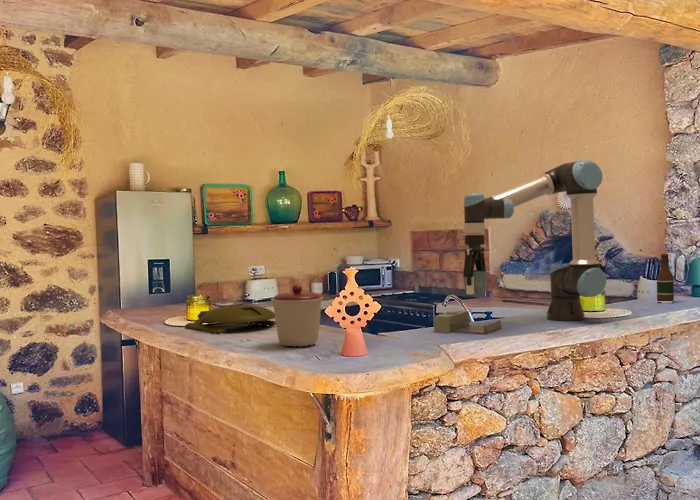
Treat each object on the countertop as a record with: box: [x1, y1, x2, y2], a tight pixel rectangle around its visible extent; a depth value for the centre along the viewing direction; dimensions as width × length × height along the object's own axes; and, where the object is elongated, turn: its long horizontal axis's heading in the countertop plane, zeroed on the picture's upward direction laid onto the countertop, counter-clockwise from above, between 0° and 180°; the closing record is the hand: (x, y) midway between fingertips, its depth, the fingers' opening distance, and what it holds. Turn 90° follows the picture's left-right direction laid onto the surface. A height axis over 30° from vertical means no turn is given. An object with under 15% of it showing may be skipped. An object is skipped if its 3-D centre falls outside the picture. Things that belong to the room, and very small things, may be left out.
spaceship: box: [184, 304, 276, 335], centre depth 292 cm, size 35×31×10 cm
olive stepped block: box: [433, 310, 470, 334], centre depth 273 cm, size 6×20×7 cm, turn 148°
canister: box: [270, 284, 324, 348], centre depth 243 cm, size 18×18×21 cm
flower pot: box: [462, 269, 488, 296], centre depth 267 cm, size 9×9×9 cm
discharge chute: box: [451, 318, 502, 335], centre depth 267 cm, size 14×16×3 cm
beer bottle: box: [656, 253, 675, 301], centre depth 342 cm, size 8×8×24 cm
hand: (475, 293), depth 267 cm, fingers closed on flower pot, 10 cm apart
